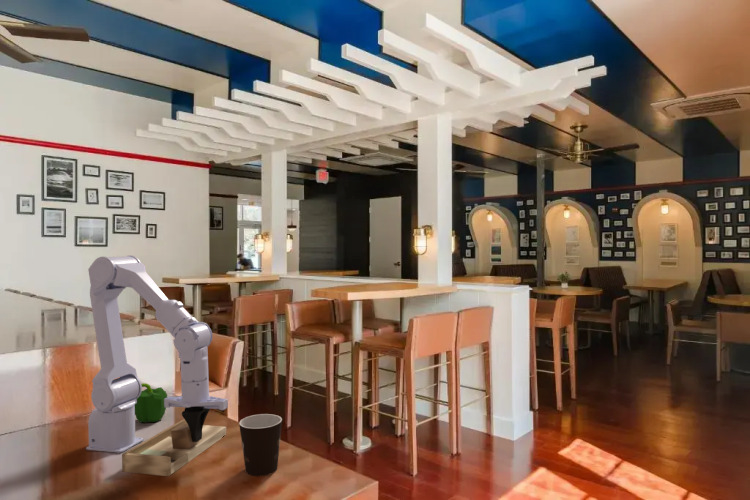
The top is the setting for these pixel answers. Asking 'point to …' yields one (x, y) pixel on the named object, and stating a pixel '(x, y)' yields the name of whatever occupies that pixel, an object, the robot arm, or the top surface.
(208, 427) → the birch tray
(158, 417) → the bell pepper
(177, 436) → the walnut block
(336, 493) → the top surface
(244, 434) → the black cup
